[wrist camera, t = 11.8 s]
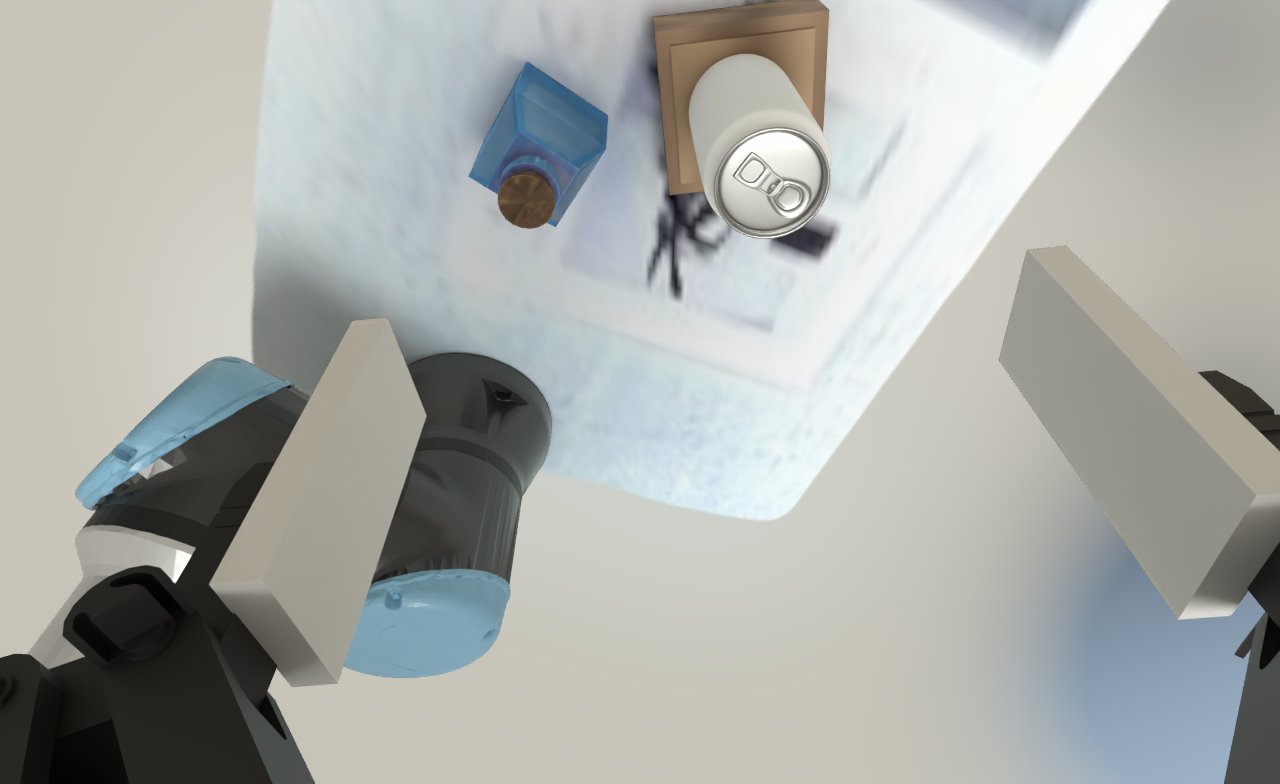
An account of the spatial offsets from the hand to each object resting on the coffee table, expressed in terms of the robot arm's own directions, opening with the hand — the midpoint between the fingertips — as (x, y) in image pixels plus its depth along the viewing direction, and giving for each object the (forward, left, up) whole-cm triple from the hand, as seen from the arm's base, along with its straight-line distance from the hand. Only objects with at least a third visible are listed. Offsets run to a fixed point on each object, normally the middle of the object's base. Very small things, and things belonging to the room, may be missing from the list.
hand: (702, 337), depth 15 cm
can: (+5, -6, -33) cm, 33 cm away
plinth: (+5, -6, -37) cm, 38 cm away
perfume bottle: (-8, -7, -37) cm, 38 cm away
